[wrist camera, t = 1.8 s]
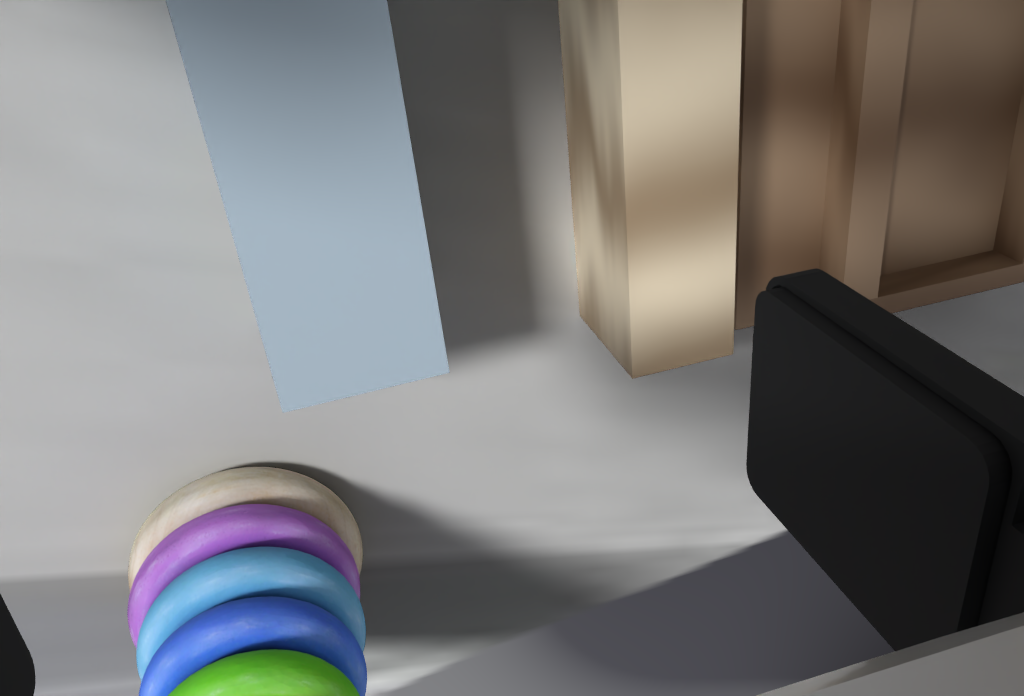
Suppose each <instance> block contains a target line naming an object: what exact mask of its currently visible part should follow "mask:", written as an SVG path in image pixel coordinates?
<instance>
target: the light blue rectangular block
mask: <svg viewBox="0 0 1024 696" xmlns="http://www.w3.org/2000/svg"><path fill="white" fill-rule="evenodd" d="M166 3H167V7H168V10H169V14H170V17H171V21H172V24H173V28H174V31H175V35H176V38H177V42H178V45H179V49H180V52H181V56H182V59H183V63H184V66H185V70H186V73H187V77H188V81H189V84H190V88H191V91H192V95H193V98H194V102H195V105H196V109H197V112H198V116H199V119H200V123H201V126H202V130H203V133H204V137H205V140H206V144H207V147H208V151H209V154H210V158H211V162H212V165H213V169H214V172H215V176H216V179H217V183H218V186H219V190H220V193H221V197H222V200H223V204H224V207H225V211H226V214H227V218H228V221H229V225H230V228H231V232H232V236H233V239H234V243H235V246H236V250H237V253H238V257H239V260H240V264H241V267H242V271H243V274H244V278H245V281H246V285H247V288H248V292H249V295H250V299H251V302H252V306H253V309H254V313H255V317H256V320H257V324H258V327H259V331H260V334H261V338H262V341H263V345H264V348H265V352H266V355H267V359H268V362H269V366H270V369H271V373H272V376H273V380H274V383H275V387H276V390H277V394H278V398H279V401H280V405H281V408H282V412H283V413H284V412H288V411H292V410H297V409H301V408H305V407H309V406H313V405H317V404H321V403H326V402H330V401H334V400H338V399H342V398H346V397H350V396H355V395H359V394H363V393H367V392H371V391H375V390H380V389H384V388H388V387H392V386H396V385H400V384H404V383H409V382H413V381H417V380H421V379H425V378H429V377H433V376H438V375H442V374H446V373H450V372H449V366H448V360H447V354H446V348H445V343H444V337H443V331H442V325H441V319H440V313H439V307H438V301H437V295H436V289H435V283H434V277H433V271H432V265H431V259H430V253H429V247H428V241H427V235H426V229H425V223H424V218H423V212H422V206H421V200H420V194H419V188H418V182H417V176H416V170H415V164H414V158H413V152H412V146H411V140H410V134H409V128H408V122H407V116H406V110H405V104H404V98H403V93H402V87H401V81H400V75H399V69H398V63H397V57H396V51H395V45H394V39H393V33H392V27H391V21H390V15H389V9H388V3H387V0H166Z"/></svg>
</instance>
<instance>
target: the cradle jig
mask: <svg viewBox="0 0 1024 696" xmlns="http://www.w3.org/2000/svg"><path fill="white" fill-rule="evenodd" d="M815 268H817V269H820V270H823V271H824V272H826V273H828V274H829V275H831V276H832V277H834V278H836V279H837V280H839V281H840V282H842V283H844V284H845V285H847V286H848V287H850V288H851V289H853V290H855V291H856V292H858V293H859V294H861V295H863V296H864V297H866V298H867V299H869V300H871V301H872V302H874V303H875V304H877V305H878V306H880V307H882V308H883V309H885V310H886V311H888V312H890V313H895V312H899V311H903V310H908V309H912V308H916V307H920V306H924V305H929V304H933V303H937V302H941V301H945V300H950V299H954V298H958V297H962V296H966V295H970V294H975V293H979V292H983V291H987V290H991V289H996V288H1000V287H1004V286H1008V285H1012V284H1017V283H1021V282H1024V0H743V3H742V41H741V79H740V117H739V155H738V193H737V231H736V270H735V308H734V329H735V330H738V329H743V328H747V327H751V326H754V315H755V303H756V298H757V296H758V294H759V293H760V292H761V291H766V287H767V285H768V282H769V281H770V280H771V279H772V278H773V277H777V276H782V275H786V274H791V273H796V272H800V271H805V270H810V269H815Z"/></svg>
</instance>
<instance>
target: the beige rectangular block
mask: <svg viewBox="0 0 1024 696" xmlns="http://www.w3.org/2000/svg"><path fill="white" fill-rule="evenodd" d="M742 3H743V0H558V8H559V23H560V37H561V51H562V66H563V80H564V94H565V109H566V123H567V137H568V152H569V166H570V180H571V195H572V209H573V223H574V238H575V252H576V266H577V281H578V295H579V309H580V316H581V318H582V319H583V320H584V321H585V322H586V324H587V325H588V326H589V327H590V328H591V330H592V331H593V332H594V333H595V334H596V336H597V337H598V338H599V339H600V340H601V342H602V343H603V344H604V345H605V346H606V348H607V349H608V350H609V351H610V352H611V354H612V355H613V356H614V357H615V358H616V359H617V361H618V362H619V363H620V364H621V365H622V367H623V368H624V369H625V370H626V371H627V373H628V374H629V375H630V376H631V377H632V379H633V378H637V377H641V376H645V375H649V374H654V373H658V372H662V371H666V370H670V369H674V368H678V367H682V366H686V365H691V364H695V363H699V362H703V361H707V360H711V359H715V358H719V357H723V356H728V355H732V354H733V346H734V308H735V270H736V231H737V193H738V155H739V117H740V79H741V41H742Z"/></svg>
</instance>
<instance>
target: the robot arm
mask: <svg viewBox="0 0 1024 696" xmlns="http://www.w3.org/2000/svg"><path fill="white" fill-rule="evenodd" d="M747 474H748V478H749V481H750V484H751V486H752V488H753V490H754V492H755V493H756V494H757V496H758V497H759V498H760V499H761V500H762V501H763V503H764V504H765V505H766V506H767V507H768V508H769V509H770V510H771V512H772V513H773V514H774V515H775V516H776V517H777V518H778V519H779V521H780V522H781V523H782V524H783V525H784V526H785V527H786V529H787V530H788V531H789V532H790V533H791V534H792V535H793V536H794V538H795V539H796V540H797V541H798V542H799V543H800V544H801V545H802V546H803V548H804V549H805V550H806V551H807V552H808V553H809V554H810V556H811V557H812V558H813V559H814V560H815V561H816V562H817V564H818V565H819V566H820V567H821V568H822V569H823V570H824V571H825V572H826V573H827V575H828V576H829V577H830V578H831V579H832V580H833V582H834V583H835V584H836V585H837V586H838V587H839V588H840V590H841V591H842V592H843V593H844V594H845V595H846V596H847V597H848V598H849V600H850V601H851V602H852V603H853V604H854V605H855V606H856V608H857V609H858V610H859V611H860V612H861V613H862V614H863V615H864V617H865V618H866V619H867V620H868V621H869V622H870V623H871V625H872V626H873V627H874V628H875V629H876V630H877V631H878V632H879V633H880V635H881V636H882V637H883V638H884V639H885V640H886V641H887V643H888V644H889V645H890V646H891V647H892V648H893V649H894V650H895V652H892V653H889V654H886V655H883V656H880V657H877V658H873V659H870V660H867V661H864V662H861V663H858V664H855V665H851V666H848V667H845V668H842V669H839V670H835V671H833V672H829V673H826V674H823V675H820V676H817V677H813V678H811V679H807V680H804V681H801V682H798V683H794V684H791V685H789V686H785V687H782V688H779V689H776V690H772V691H769V692H766V693H763V694H760V695H757V696H1024V397H1023V396H1021V395H1020V394H1018V393H1017V392H1015V391H1013V390H1012V389H1010V388H1009V387H1007V386H1006V385H1004V384H1002V383H1001V382H999V381H998V380H996V379H994V378H993V377H991V376H990V375H988V374H986V373H985V372H983V371H982V370H980V369H979V368H977V367H975V366H974V365H972V364H971V363H969V362H967V361H966V360H964V359H963V358H961V357H959V356H958V355H956V354H955V353H953V352H952V351H950V350H948V349H947V348H945V347H944V346H942V345H940V344H939V343H937V342H936V341H934V340H932V339H931V338H929V337H928V336H926V335H925V334H923V333H921V332H920V331H918V330H917V329H915V328H913V327H912V326H910V325H909V324H907V323H905V322H904V321H902V320H901V319H899V318H898V317H896V316H894V315H893V314H891V313H890V312H888V311H886V310H885V309H883V308H882V307H880V306H878V305H877V304H875V303H874V302H872V301H871V300H869V299H867V298H866V297H864V296H863V295H861V294H859V293H858V292H856V291H855V290H853V289H851V288H850V287H848V286H847V285H845V284H844V283H842V282H840V281H839V280H837V279H836V278H834V277H832V276H831V275H829V274H828V273H826V272H824V271H823V270H820V269H817V268H815V269H810V270H805V271H800V272H796V273H791V274H786V275H782V276H777V277H773V278H772V279H771V280H770V281H769V282H768V285H767V287H766V291H761V292H760V293H759V294H758V296H757V298H756V303H755V315H754V334H753V352H752V371H751V390H750V408H749V427H748V446H747ZM34 689H35V669H34V664H33V660H32V657H31V654H30V652H29V650H28V648H27V646H26V644H25V642H24V640H23V638H22V636H21V634H20V632H19V630H18V628H17V626H16V624H15V622H14V620H13V618H12V616H11V614H10V612H9V610H8V608H7V606H6V604H5V602H4V600H3V598H2V596H1V594H0V696H33V694H34Z"/></svg>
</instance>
